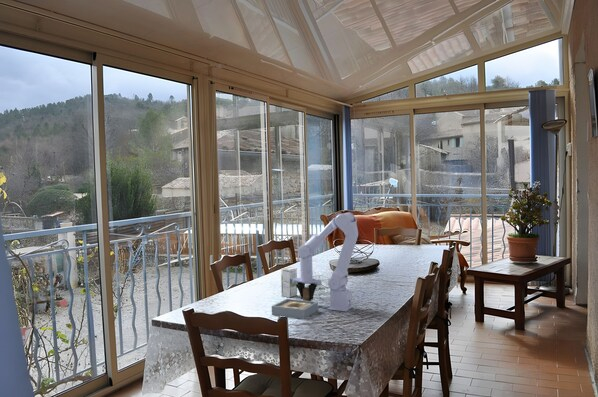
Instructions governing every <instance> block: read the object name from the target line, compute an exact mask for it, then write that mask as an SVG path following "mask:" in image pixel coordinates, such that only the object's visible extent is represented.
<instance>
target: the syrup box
mask: <svg viewBox="0 0 598 397" xmlns="http://www.w3.org/2000/svg"><path fill="white" fill-rule="evenodd" d="M297 269H298V268H296V267H294V266H287V267H283V268H282V267H281V269H280V270H281V271H280V272H281V274H280V276H281V278H280V279H281V297H282V298H283V297H284V298H288V299H292V298H293V297H297V296H298V288H297V287H296V284H297V283H292V279H293V278H298V275H297V274H298V270H297Z"/></svg>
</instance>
